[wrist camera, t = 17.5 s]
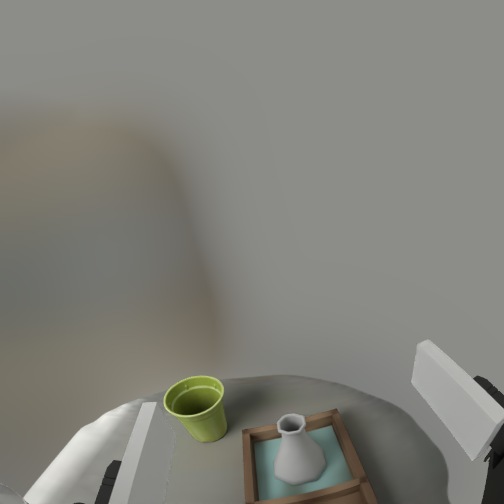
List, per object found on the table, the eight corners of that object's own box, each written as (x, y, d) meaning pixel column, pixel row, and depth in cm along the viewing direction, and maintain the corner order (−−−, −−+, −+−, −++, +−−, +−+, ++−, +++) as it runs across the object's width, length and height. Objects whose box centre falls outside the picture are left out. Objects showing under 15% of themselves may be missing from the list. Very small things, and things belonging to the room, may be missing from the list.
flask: (331, 445, 29) (328, 400, 27) (322, 487, 22) (319, 449, 20) (280, 443, 32) (268, 399, 29) (265, 482, 25) (248, 444, 23)
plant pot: (249, 424, 37) (236, 388, 36) (207, 459, 31) (187, 425, 29) (212, 404, 44) (197, 369, 42) (173, 432, 37) (152, 397, 35)
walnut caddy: (258, 597, 8) (252, 597, 7) (246, 440, 34) (242, 429, 33) (396, 565, 8) (402, 562, 7) (337, 420, 34) (336, 408, 33)
